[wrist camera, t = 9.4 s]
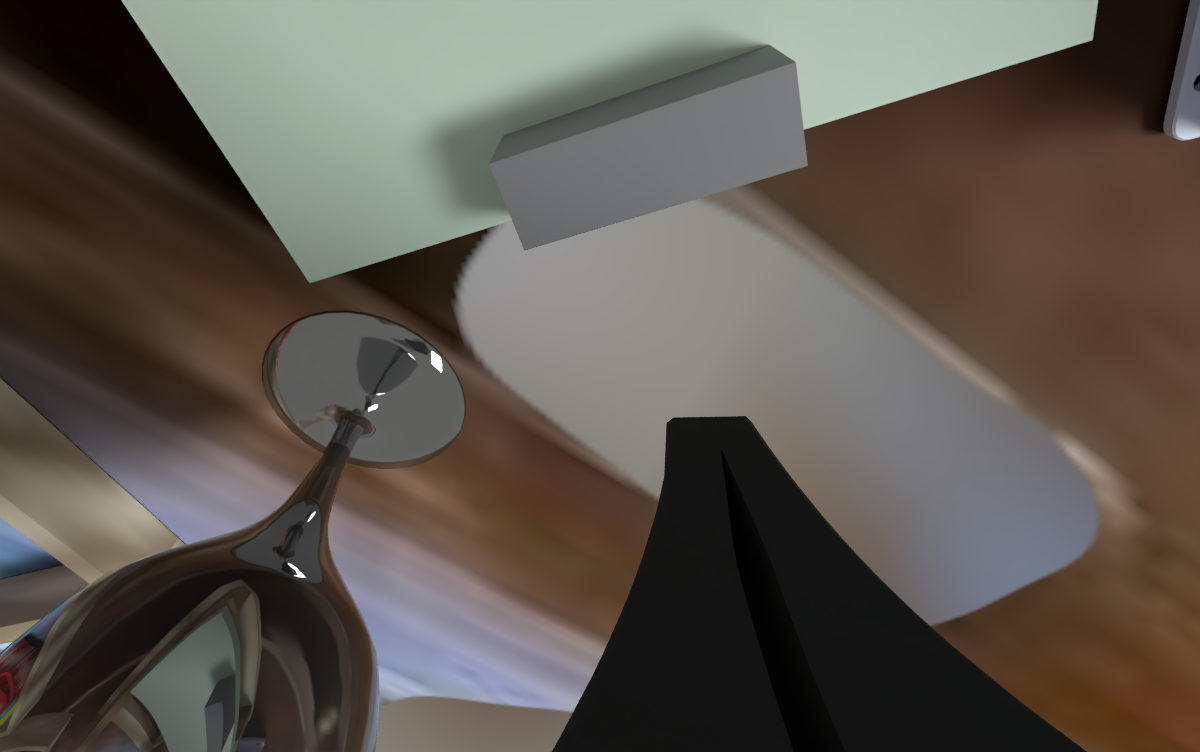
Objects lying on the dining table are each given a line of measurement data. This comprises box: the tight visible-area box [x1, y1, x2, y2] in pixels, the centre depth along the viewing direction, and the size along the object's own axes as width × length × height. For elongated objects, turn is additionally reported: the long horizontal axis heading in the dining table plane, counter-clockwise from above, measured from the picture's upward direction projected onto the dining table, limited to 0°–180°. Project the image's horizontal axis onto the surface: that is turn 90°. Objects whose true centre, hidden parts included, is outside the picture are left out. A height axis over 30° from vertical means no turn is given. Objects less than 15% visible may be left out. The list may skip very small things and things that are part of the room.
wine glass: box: [0, 311, 465, 752], centre depth 16 cm, size 8×8×15 cm
